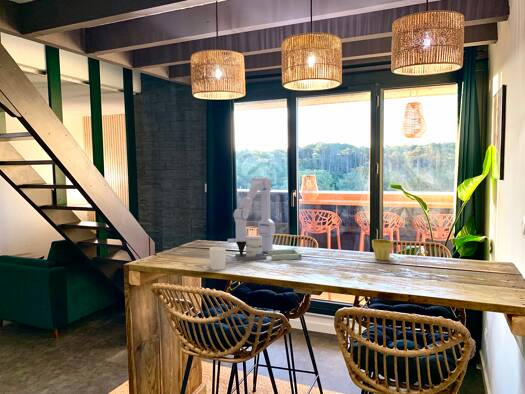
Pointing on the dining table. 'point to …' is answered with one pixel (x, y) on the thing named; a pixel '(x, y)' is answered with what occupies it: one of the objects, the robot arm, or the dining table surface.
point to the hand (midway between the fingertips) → (241, 255)
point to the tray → (284, 254)
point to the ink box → (254, 246)
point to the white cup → (217, 258)
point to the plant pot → (382, 248)
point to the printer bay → (250, 257)
